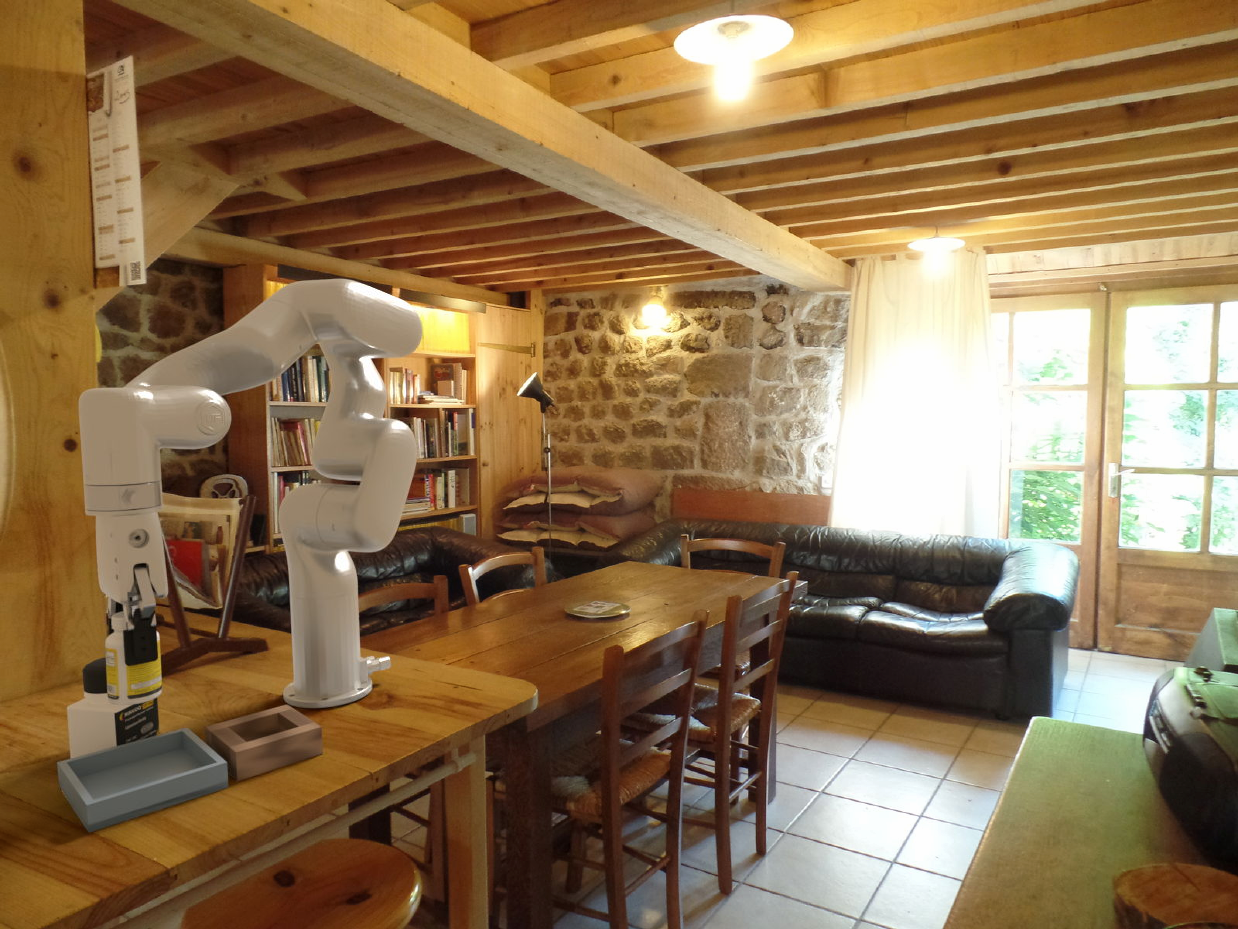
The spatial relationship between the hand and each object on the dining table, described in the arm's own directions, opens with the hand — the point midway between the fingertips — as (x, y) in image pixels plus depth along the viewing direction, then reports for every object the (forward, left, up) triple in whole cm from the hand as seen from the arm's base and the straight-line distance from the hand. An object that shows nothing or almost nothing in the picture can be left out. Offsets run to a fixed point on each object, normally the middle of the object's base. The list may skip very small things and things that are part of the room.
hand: (133, 655), depth 96 cm
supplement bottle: (0, 0, -5) cm, 5 cm away
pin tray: (0, 0, -16) cm, 16 cm away
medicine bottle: (-1, -13, -16) cm, 21 cm away
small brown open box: (-14, +1, -16) cm, 21 cm away
